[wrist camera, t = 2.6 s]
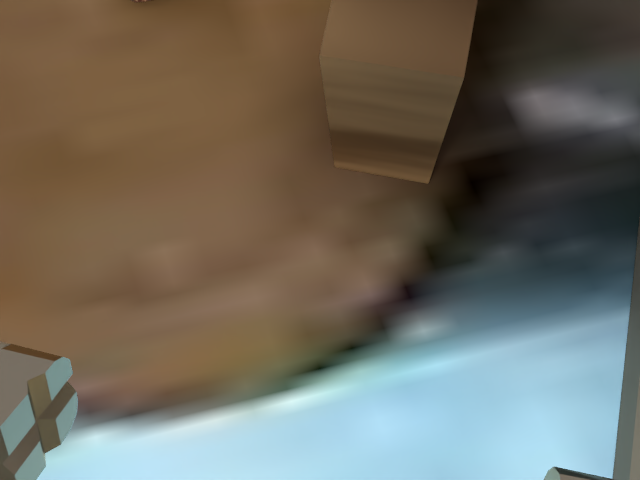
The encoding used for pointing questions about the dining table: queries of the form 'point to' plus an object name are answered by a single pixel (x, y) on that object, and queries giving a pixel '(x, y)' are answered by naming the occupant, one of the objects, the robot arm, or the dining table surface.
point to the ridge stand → (630, 391)
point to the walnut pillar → (393, 81)
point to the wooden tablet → (139, 0)
